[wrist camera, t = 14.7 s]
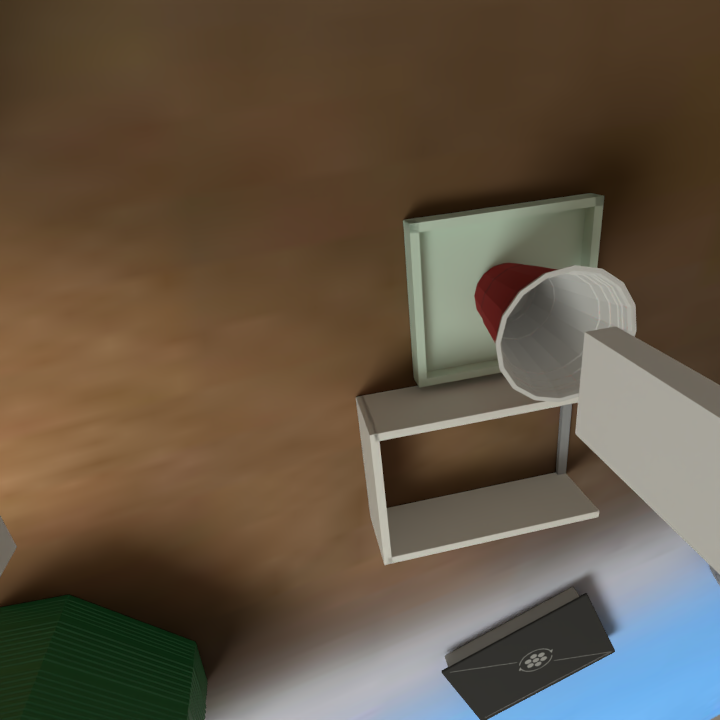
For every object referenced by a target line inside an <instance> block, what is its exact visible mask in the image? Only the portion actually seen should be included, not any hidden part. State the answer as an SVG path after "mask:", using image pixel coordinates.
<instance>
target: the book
mask: <svg viewBox="0 0 720 720" xmlns="http://www.w3.org/2000/svg"><path fill="white" fill-rule="evenodd" d="M614 652H615V650H614V648H613V646H612V644H611V642H610V640H609V638H608V636H607V634H606V632H605V630H604V628H603V626H602V624H601V622H600V619H599V617H598V615H597V613H596V611H595V609H594V607H593V605H592V603H591V601H590V599H589V597H588V595H587V593H585V594H583V595H581V596H579V595H578V593H577V592H576V590H575V589H574V587H571V588H570V589H568V590H566V591H564V592H562V593H560V594H558V595H557V596H555V597H553V598H551V599H549V600H547V601H545V602H544V603H542V604H540V605H538V606H536V607H534V608H533V609H531V610H529V611H527V612H525V613H523V614H521V615H520V616H518V617H516V618H514V619H512V620H510V621H508V622H507V623H505V624H503V625H501V626H499V627H497V628H495V629H494V630H492V631H490V632H488V633H486V634H484V635H482V636H481V637H479V638H477V639H475V640H473V641H471V642H469V643H468V644H466V645H464V646H462V647H460V648H458V649H457V650H455V651H453V652H451V653H449V654H447V655H445V659H446V662H447V665H448V667H447V668H446V669H444V670H442V674H443V675H444V676H445V677H446V679H447V680H448V681H449V682H450V683H451V685H452V686H453V687H454V688H455V690H456V691H457V692H458V693H459V694H460V696H461V697H462V698H463V699H464V700H465V702H466V703H467V704H468V705H469V707H470V708H471V709H472V710H473V711H474V713H475V714H476V715H477V716H478V718H479V719H480V720H487V719H489V718H491V717H493V716H495V715H497V714H498V713H500V712H502V711H504V710H506V709H508V708H510V707H512V706H514V705H515V704H517V703H519V702H521V701H523V700H525V699H527V698H529V697H531V696H532V695H534V694H536V693H538V692H540V691H542V690H544V689H546V688H548V687H549V686H551V685H553V684H555V683H557V682H559V681H561V680H563V679H565V678H566V677H568V676H570V675H572V674H574V673H576V672H578V671H580V670H582V669H583V668H585V667H587V666H589V665H591V664H593V663H595V662H597V661H599V660H600V659H602V658H604V657H606V656H608V655H610V654H612V653H614Z"/></svg>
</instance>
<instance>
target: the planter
mask: <svg viewBox="0 0 720 720" xmlns="http://www.w3.org/2000/svg"><path fill="white" fill-rule="evenodd" d="M206 695H207V678H206V675H205V671H204V668H203V665H202V661H201V658H200V655H199V651H198V648H197V645H196V642H195V641H192V640H189V639H187V638H184V637H181V636H179V635H176V634H173V633H171V632H168V631H165V630H163V629H160V628H157V627H154V626H152V625H149V624H146V623H144V622H141V621H138V620H136V619H133V618H130V617H128V616H125V615H122V614H120V613H117V612H114V611H112V610H109V609H106V608H104V607H101V606H98V605H95V604H93V603H90V602H87V601H85V600H82V599H79V598H77V597H74V596H71V595H64V596H59V597H53V598H48V599H43V600H37V601H32V602H27V603H21V604H16V605H10V606H5V607H0V720H204V719H205V713H206V710H205V709H206Z"/></svg>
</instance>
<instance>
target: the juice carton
mask: <svg viewBox="0 0 720 720" xmlns="http://www.w3.org/2000/svg"><path fill="white" fill-rule="evenodd" d="M709 566H710V565H709ZM710 569H711V572H712V574H713V576H714V577H715V579H716V581H717V582H718V584H719V585H720V574H719V573H718V572H717V571H715V570H714V569H713V568H712V567H711V566H710Z"/></svg>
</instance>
